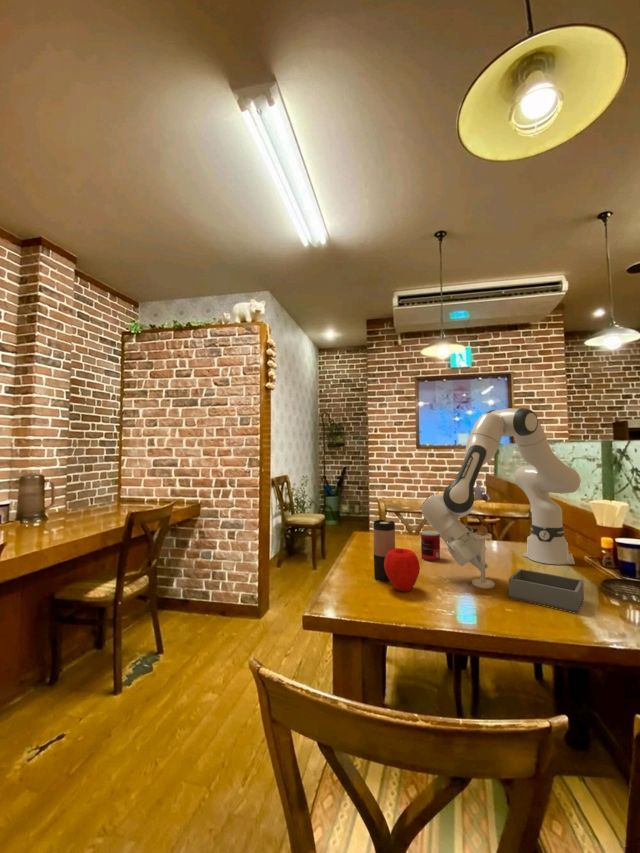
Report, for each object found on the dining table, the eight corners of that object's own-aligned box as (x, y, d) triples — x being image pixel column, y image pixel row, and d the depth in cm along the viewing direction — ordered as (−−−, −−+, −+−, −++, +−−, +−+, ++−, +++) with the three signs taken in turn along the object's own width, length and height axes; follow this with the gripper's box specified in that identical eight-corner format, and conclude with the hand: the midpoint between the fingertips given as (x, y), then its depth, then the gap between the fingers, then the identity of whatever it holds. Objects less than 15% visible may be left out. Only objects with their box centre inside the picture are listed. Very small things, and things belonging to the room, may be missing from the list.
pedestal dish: (476, 580, 139) (475, 531, 140) (497, 584, 134) (496, 533, 135) (469, 585, 133) (468, 534, 134) (490, 590, 129) (489, 537, 130)
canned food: (438, 556, 169) (437, 530, 169) (442, 562, 161) (441, 534, 161) (419, 556, 169) (419, 530, 170) (422, 561, 161) (422, 534, 162)
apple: (377, 586, 133) (376, 545, 133) (406, 581, 137) (406, 542, 138) (395, 598, 122) (395, 554, 122) (427, 593, 126) (427, 551, 126)
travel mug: (379, 583, 136) (378, 524, 137) (370, 576, 143) (370, 520, 144) (399, 581, 138) (398, 523, 139) (389, 574, 145) (389, 519, 146)
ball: (479, 532, 137) (480, 523, 136) (488, 534, 135) (489, 525, 134) (475, 534, 135) (476, 526, 134) (485, 537, 133) (485, 528, 132)
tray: (519, 586, 132) (519, 568, 132) (583, 600, 121) (583, 580, 121) (509, 598, 122) (508, 578, 122) (577, 614, 111) (577, 592, 111)
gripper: (450, 535, 131) (481, 571, 125) (471, 526, 147) (500, 557, 140) (438, 546, 134) (467, 582, 127) (460, 536, 150) (487, 567, 143)
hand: (484, 569), depth 134 cm, fingers closed on pedestal dish
